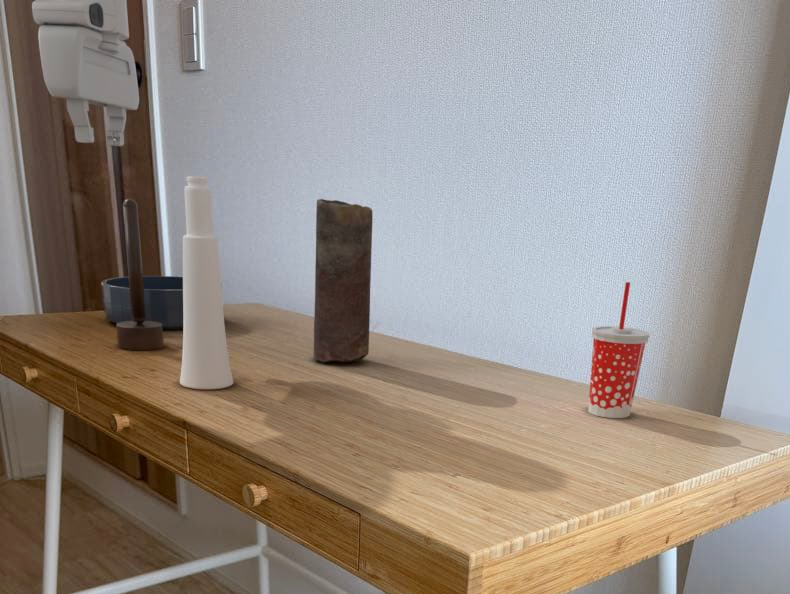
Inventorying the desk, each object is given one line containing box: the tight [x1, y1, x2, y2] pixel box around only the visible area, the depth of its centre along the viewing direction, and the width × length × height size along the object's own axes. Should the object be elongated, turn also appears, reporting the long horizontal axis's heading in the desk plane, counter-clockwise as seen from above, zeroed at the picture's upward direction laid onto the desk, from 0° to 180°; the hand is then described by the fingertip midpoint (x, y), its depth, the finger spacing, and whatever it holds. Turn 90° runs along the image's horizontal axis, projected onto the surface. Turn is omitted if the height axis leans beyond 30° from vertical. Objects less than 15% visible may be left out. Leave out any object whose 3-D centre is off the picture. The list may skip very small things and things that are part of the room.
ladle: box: [115, 198, 164, 351], centre depth 111 cm, size 6×6×19 cm
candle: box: [313, 198, 374, 363], centre depth 108 cm, size 8×7×20 cm
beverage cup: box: [587, 281, 651, 419], centre depth 90 cm, size 6×6×14 cm
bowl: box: [100, 275, 223, 330], centre depth 133 cm, size 18×18×6 cm
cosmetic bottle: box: [179, 175, 234, 391], centre depth 92 cm, size 6×6×22 cm
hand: (101, 144), depth 106 cm, fingers open, 8 cm apart
